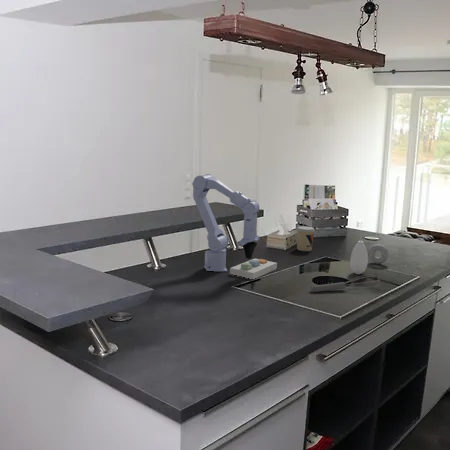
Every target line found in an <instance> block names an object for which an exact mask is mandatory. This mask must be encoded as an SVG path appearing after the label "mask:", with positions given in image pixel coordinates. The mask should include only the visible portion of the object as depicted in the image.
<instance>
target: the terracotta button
mask: <svg viewBox="0 0 450 450" xmlns="http://www.w3.org/2000/svg"><path fill="white" fill-rule="evenodd" d="M258 259H259V260H257V261H260V263H261V264H265V263H267V261H268V260H267V259H263V258H258Z"/></svg>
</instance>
